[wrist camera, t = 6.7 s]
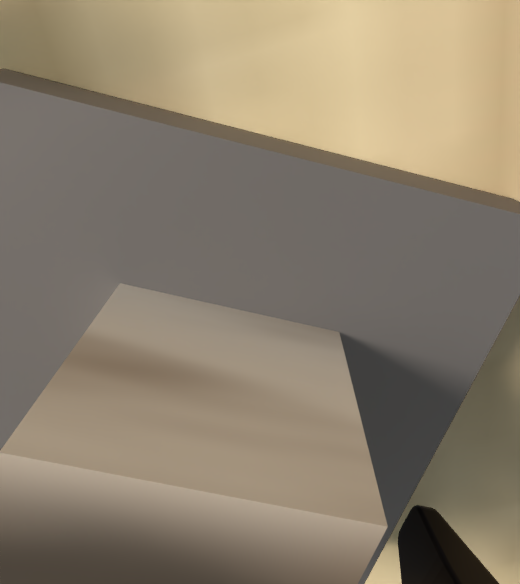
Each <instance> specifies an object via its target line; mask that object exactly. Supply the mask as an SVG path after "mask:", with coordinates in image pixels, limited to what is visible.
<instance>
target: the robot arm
mask: <svg viewBox="0 0 520 584" xmlns="http://www.w3.org/2000/svg"><path fill="white" fill-rule="evenodd" d="M398 548H399V558H400V569H401V579H402V584H499V583H498V582H497V581H496V579H495V578H494V577H493V576H492V575H491V574H490V572H489V571H488V570H487V569H486V568H485V566H484V565H483V564H482V563H481V562H480V561H479V559H478V558H477V557H476V556H475V555H474V554H473V552H472V551H471V550H470V549H469V548H468V547H467V545H466V544H465V543H464V542H463V541H462V540H461V538H460V537H459V536H458V535H457V534H456V533H455V531H454V530H453V529H452V528H451V527H450V526H449V524H448V523H447V522H446V521H445V520H444V518H443V517H442V516H441V515H440V514H439V513H438V512H437V511H436V510H435V509H433V508H429V507H424V506H419V505H416V506H414V507H413V508H412V509H411V511H410V513H409V514H408V516H407V518H406V520H405V522H404V524H403V525H402V527H401V529H400V531H399V536H398Z"/></svg>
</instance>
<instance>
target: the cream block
mask: <svg viewBox="0 0 520 584" xmlns="http://www.w3.org/2000/svg"><path fill="white" fill-rule="evenodd" d="M387 527H388V526H387V522H386V518H385V514H384V510H383V506H382V502H381V498H380V494H379V490H378V485H377V481H376V477H375V473H374V469H373V465H372V461H371V457H370V453H369V449H368V445H367V441H366V437H365V433H364V429H363V425H362V421H361V417H360V413H359V409H358V405H357V401H356V397H355V393H354V389H353V385H352V381H351V377H350V373H349V369H348V365H347V361H346V357H345V353H344V349H343V345H342V341H341V337H340V333H339V332H337V331H332V330H328V329H323V328H319V327H314V326H310V325H305V324H301V323H296V322H292V321H287V320H283V319H278V318H274V317H269V316H265V315H260V314H256V313H251V312H247V311H242V310H238V309H233V308H229V307H225V306H220V305H216V304H211V303H207V302H202V301H198V300H193V299H189V298H184V297H180V296H175V295H171V294H166V293H162V292H157V291H153V290H148V289H144V288H139V287H135V286H130V285H126V284H122V283H120V284H119V285H118V287H117V288H116V289H115V291H114V292H113V294H112V295H111V296H110V298H109V299H108V301H107V302H106V303H105V305H104V306H103V308H102V309H101V310H100V312H99V313H98V315H97V316H96V317H95V319H94V320H93V322H92V323H91V324H90V326H89V327H88V329H87V330H86V331H85V333H84V334H83V336H82V337H81V338H80V340H79V341H78V343H77V344H76V345H75V347H74V348H73V350H72V351H71V352H70V354H69V355H68V357H67V358H66V359H65V361H64V362H63V364H62V365H61V366H60V368H59V369H58V371H57V372H56V373H55V375H54V376H53V378H52V379H51V380H50V382H49V383H48V385H47V386H46V387H45V389H44V390H43V392H42V393H41V394H40V396H39V397H38V399H37V400H36V401H35V403H34V404H33V406H32V407H31V408H30V410H29V411H28V413H27V414H26V415H25V417H24V418H23V420H22V421H21V422H20V424H19V425H18V427H17V428H16V429H15V431H14V432H13V434H12V435H11V436H10V438H9V439H8V441H7V442H6V443H5V445H4V446H3V448H2V449H1V450H0V584H358V582H359V580H360V579H361V577H362V575H363V573H364V571H365V569H366V567H367V565H368V563H369V562H370V560H371V558H372V556H373V554H374V552H375V550H376V548H377V546H378V544H379V543H380V541H381V539H382V537H383V535H384V533H385V531H386V529H387Z"/></svg>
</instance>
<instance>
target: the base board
mask: <svg viewBox="0 0 520 584" xmlns="http://www.w3.org/2000/svg"><path fill="white" fill-rule="evenodd" d="M120 283H122V284H126V285H130V286H135V287H139V288H144V289H148V290H153V291H157V292H162V293H166V294H171V295H175V296H180V297H184V298H189V299H193V300H198V301H202V302H207V303H211V304H216V305H220V306H225V307H229V308H233V309H238V310H242V311H247V312H251V313H256V314H260V315H265V316H269V317H274V318H278V319H283V320H287V321H292V322H296V323H301V324H305V325H310V326H314V327H319V328H323V329H328V330H332V331H337V332H339V333H340V337H341V341H342V345H343V349H344V353H345V357H346V361H347V365H348V369H349V373H350V377H351V381H352V385H353V389H354V393H355V397H356V401H357V405H358V409H359V413H360V417H361V421H362V425H363V429H364V433H365V437H366V441H367V445H368V449H369V453H370V457H371V461H372V465H373V469H374V473H375V477H376V481H377V485H378V490H379V494H380V498H381V502H382V506H383V510H384V514H385V518H386V522H387V526H388V527H387V529H386V531H385V533H384V535H383V537H382V539H381V541H380V543H379V544H378V546H377V548H376V550H375V552H374V554H373V556H372V558H371V560H370V562H369V563H368V565H367V567H366V569H365V571H364V573H363V575H362V577H361V579H360V580H359V582H358V584H364V583H365V581H366V580H367V578H368V576H369V574H370V572H371V570H372V568H373V567H374V565H375V563H376V561H377V559H378V557H379V555H380V554H381V552H382V550H383V548H384V546H385V544H386V542H387V541H388V539H389V537H390V535H391V533H392V531H393V530H394V528H395V526H396V524H397V522H398V520H399V518H400V517H401V515H402V513H403V511H404V509H405V507H406V505H407V504H408V502H409V500H410V498H411V496H412V494H413V492H414V491H415V489H416V487H417V485H418V483H419V481H420V479H421V478H422V476H423V474H424V472H425V470H426V468H427V466H428V465H429V463H430V461H431V459H432V457H433V455H434V454H435V452H436V450H437V448H438V446H439V444H440V442H441V441H442V439H443V437H444V435H445V433H446V431H447V429H448V428H449V426H450V424H451V422H452V420H453V418H454V416H455V415H456V413H457V411H458V409H459V407H460V405H461V403H462V402H463V400H464V398H465V396H466V394H467V392H468V390H469V389H470V387H471V385H472V383H473V381H474V379H475V378H476V376H477V374H478V372H479V370H480V368H481V366H482V365H483V363H484V361H485V359H486V357H487V355H488V353H489V352H490V350H491V348H492V346H493V344H494V342H495V340H496V339H497V337H498V335H499V333H500V331H501V329H502V327H503V326H504V324H505V322H506V320H507V318H508V316H509V314H510V313H511V311H512V309H513V307H514V305H515V303H516V301H517V300H518V298H519V296H520V203H519V202H517V201H516V200H514V199H511V198H507V197H503V196H499V195H496V194H492V193H488V192H484V191H480V190H476V189H472V188H468V187H464V186H460V185H456V184H453V183H449V182H445V181H441V180H437V179H433V178H429V177H425V176H421V175H417V174H413V173H410V172H406V171H402V170H398V169H394V168H390V167H386V166H382V165H378V164H374V163H371V162H367V161H363V160H359V159H355V158H351V157H347V156H343V155H339V154H335V153H331V152H328V151H324V150H320V149H316V148H312V147H308V146H304V145H300V144H296V143H292V142H288V141H285V140H281V139H277V138H273V137H269V136H265V135H261V134H257V133H253V132H249V131H245V130H242V129H238V128H234V127H230V126H226V125H222V124H218V123H214V122H210V121H206V120H203V119H199V118H195V117H191V116H187V115H183V114H179V113H175V112H171V111H167V110H163V109H160V108H156V107H152V106H148V105H144V104H140V103H136V102H132V101H128V100H124V99H120V98H117V97H113V96H109V95H105V94H101V93H97V92H93V91H89V90H85V89H81V88H78V87H74V86H70V85H66V84H62V83H58V82H54V81H50V80H46V79H42V78H38V77H35V76H31V75H27V74H23V73H19V72H15V71H11V70H7V69H0V450H1V449H2V448H3V446H4V445H5V443H6V442H7V441H8V439H9V438H10V436H11V435H12V434H13V432H14V431H15V429H16V428H17V427H18V425H19V424H20V422H21V421H22V420H23V418H24V417H25V415H26V414H27V413H28V411H29V410H30V408H31V407H32V406H33V404H34V403H35V401H36V400H37V399H38V397H39V396H40V394H41V393H42V392H43V390H44V389H45V387H46V386H47V385H48V383H49V382H50V380H51V379H52V378H53V376H54V375H55V373H56V372H57V371H58V369H59V368H60V366H61V365H62V364H63V362H64V361H65V359H66V358H67V357H68V355H69V354H70V352H71V351H72V350H73V348H74V347H75V345H76V344H77V343H78V341H79V340H80V338H81V337H82V336H83V334H84V333H85V331H86V330H87V329H88V327H89V326H90V324H91V323H92V322H93V320H94V319H95V317H96V316H97V315H98V313H99V312H100V310H101V309H102V308H103V306H104V305H105V303H106V302H107V301H108V299H109V298H110V296H111V295H112V294H113V292H114V291H115V289H116V288H117V287H118V285H119V284H120Z"/></svg>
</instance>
